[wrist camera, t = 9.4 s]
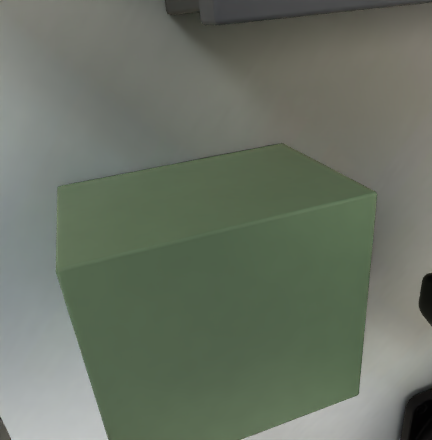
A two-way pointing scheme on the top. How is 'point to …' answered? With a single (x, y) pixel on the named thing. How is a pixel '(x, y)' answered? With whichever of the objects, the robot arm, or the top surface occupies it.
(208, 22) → the storage box
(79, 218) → the sage box
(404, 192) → the top surface
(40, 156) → the top surface
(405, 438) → the robot arm
